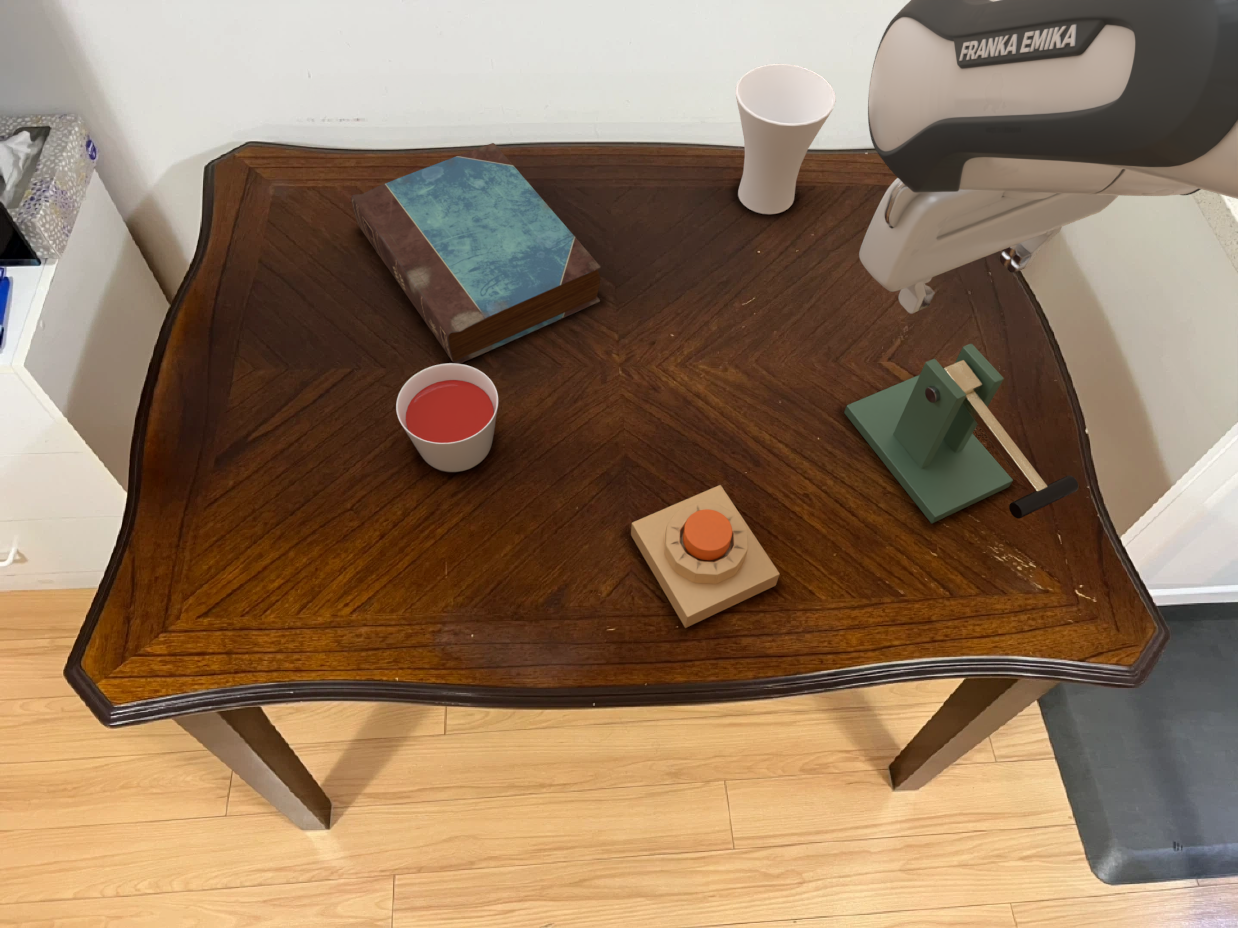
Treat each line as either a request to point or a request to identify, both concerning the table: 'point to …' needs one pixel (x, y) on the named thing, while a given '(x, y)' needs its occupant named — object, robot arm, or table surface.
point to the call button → (703, 582)
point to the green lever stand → (933, 437)
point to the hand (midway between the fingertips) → (963, 284)
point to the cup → (778, 130)
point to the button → (707, 534)
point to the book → (477, 251)
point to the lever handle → (1009, 448)
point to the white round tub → (449, 415)
